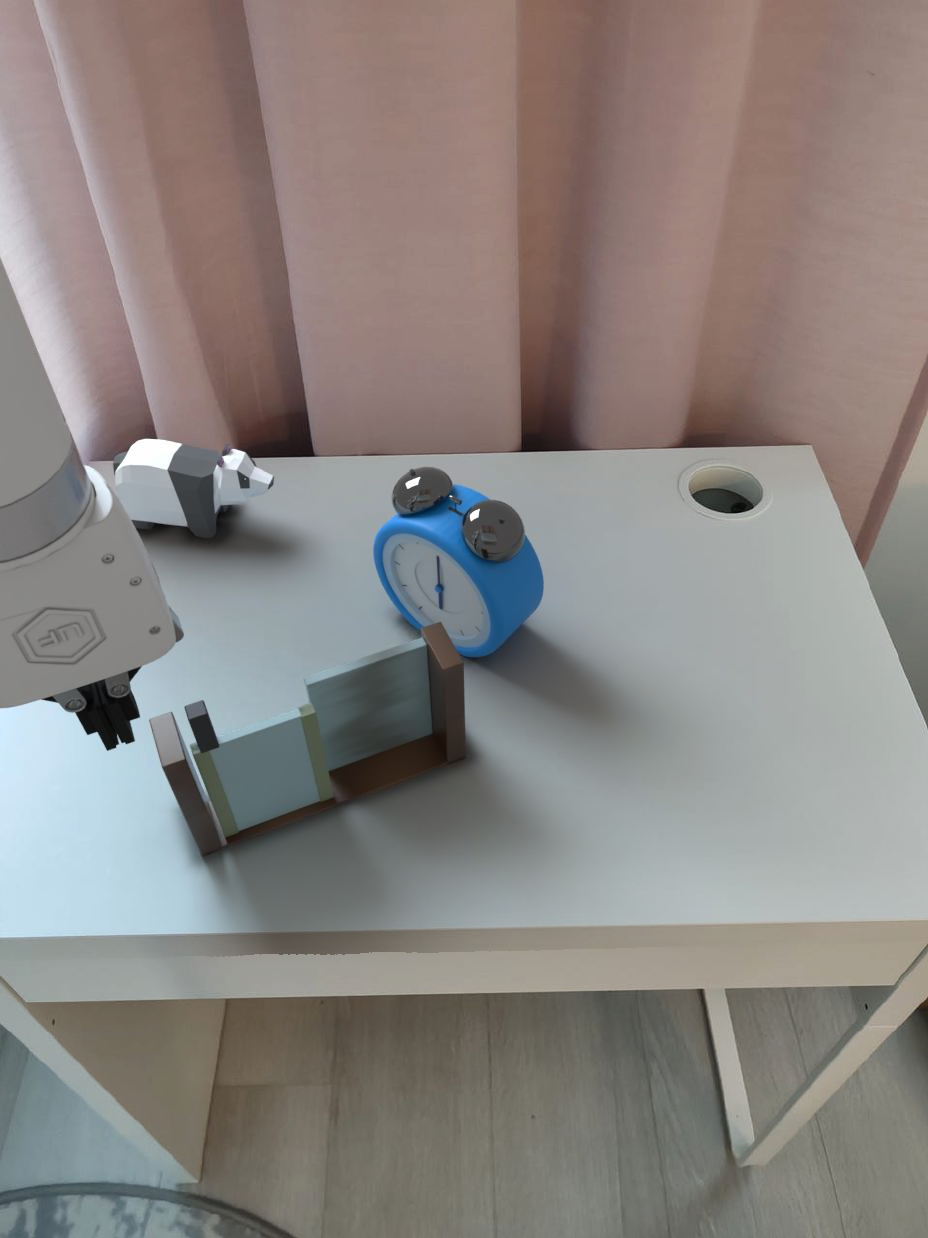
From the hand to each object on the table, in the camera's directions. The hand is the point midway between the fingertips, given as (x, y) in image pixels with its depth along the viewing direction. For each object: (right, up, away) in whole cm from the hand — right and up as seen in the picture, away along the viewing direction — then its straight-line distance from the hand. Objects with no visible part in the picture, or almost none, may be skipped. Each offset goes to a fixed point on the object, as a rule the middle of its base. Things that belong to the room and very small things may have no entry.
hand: (116, 727), depth 58 cm
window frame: (+10, -7, +16) cm, 20 cm away
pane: (+7, -7, +13) cm, 16 cm away
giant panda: (-4, +15, +35) cm, 38 cm away
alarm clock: (+20, +5, +26) cm, 33 cm away
